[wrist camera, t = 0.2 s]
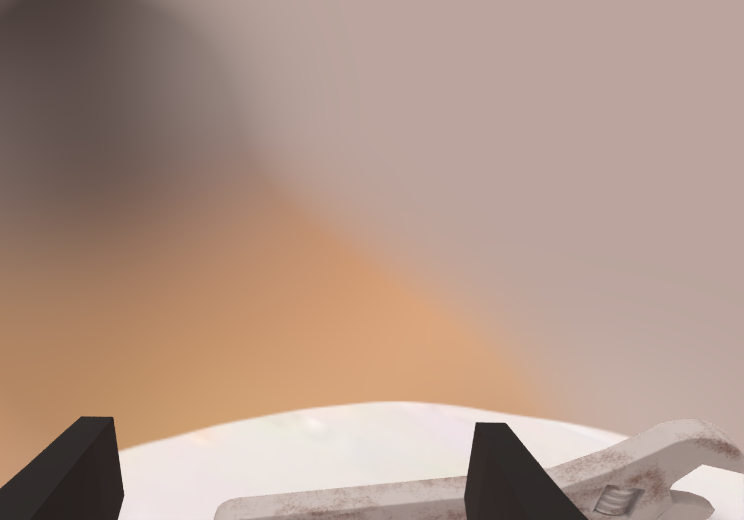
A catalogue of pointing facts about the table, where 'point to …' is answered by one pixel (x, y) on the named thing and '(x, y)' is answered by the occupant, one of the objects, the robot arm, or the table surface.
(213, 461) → the table surface
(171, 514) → the table surface
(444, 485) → the wrench
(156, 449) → the table surface
